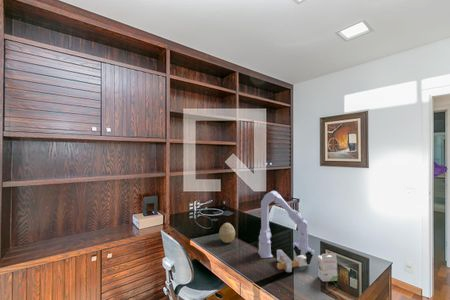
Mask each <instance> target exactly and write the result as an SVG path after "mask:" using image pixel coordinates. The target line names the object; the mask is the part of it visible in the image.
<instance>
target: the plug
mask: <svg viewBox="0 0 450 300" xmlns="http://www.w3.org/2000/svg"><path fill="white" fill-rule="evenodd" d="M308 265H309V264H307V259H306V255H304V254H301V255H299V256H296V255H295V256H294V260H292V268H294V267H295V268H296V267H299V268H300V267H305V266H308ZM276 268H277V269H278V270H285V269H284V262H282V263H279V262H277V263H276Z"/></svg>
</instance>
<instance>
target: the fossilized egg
mask: <svg viewBox="0 0 450 300" xmlns="http://www.w3.org/2000/svg"><path fill="white" fill-rule="evenodd" d="M218 235H219V239H220V240H221V241H222V242H223V243H225V244H228V243H231V242H233V241H234V239H235V237H236V230H235V228H234V226H233V225H232V224H231V223H230V222H225V223H223V224H222V225H221V226H220V228H219V232H218Z"/></svg>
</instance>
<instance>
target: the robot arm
mask: <svg viewBox="0 0 450 300" xmlns="http://www.w3.org/2000/svg"><path fill="white" fill-rule="evenodd" d="M272 202H274V204H279V205H280V206H281V207H282V208H283V209H284V210H285V211H286V213H287V214H288V217H289V218H290V219H291V220H292V221H293V222H294V223H295V225H296V228H297V230H298V231H297V235H298V236H297V238H298V240H297V241H298V242H293V243H292V247H293V251H294V253H295V256H299V255H302V253H301V252H302V251H304V252H305V253H304V254H305V255H304V256H305V257H306V259H307V264H308V265H310V264H311V261H312V258H313V256H314V255H315V249H312V248H311V247H310V246H309V233H308V231H309V229H308V226H309V222H308V221H307V219H306V218H304V217H302V215H300V214H299V211H298V210H296V209H293V208H292V207H291V206H290V204H288V203H287V201H286V200H285V199H284V198H283V197H282V196H281V194H280V193H279V192H278V191H276V190H271V191H270V192H267V193H265V194H264V196H263V198H262V199H261V201H260V220H261V221H260V223H261V224H260V226H261V227H260V231H259V236H258V251H257V253H258V255H259V256H260V258H261V259H267V258H274V255H273V254H272V249H271V247H272V245H271V241H272V240H271V238H272V232H271V228H270V212H269V211H270V208H269V207H270V204H271V203H272Z"/></svg>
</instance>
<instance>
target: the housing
mask: <svg viewBox="0 0 450 300" xmlns="http://www.w3.org/2000/svg"><path fill="white" fill-rule="evenodd" d="M276 260H277V263H282V262H284V269H283V270H284V271H285V272H286V273H292V272H293V270H292V269H293V267H292V261H293V260H292V259H291V258H290V257H289V256H288V255H287V254H286V253H285V252H284V251H283V249H276Z"/></svg>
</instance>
